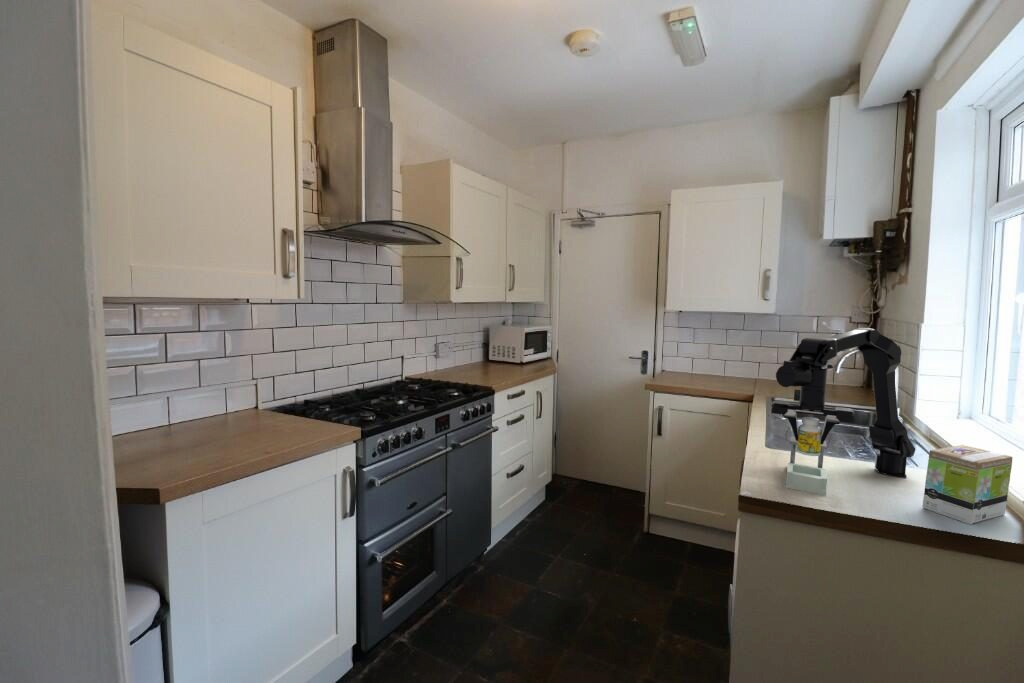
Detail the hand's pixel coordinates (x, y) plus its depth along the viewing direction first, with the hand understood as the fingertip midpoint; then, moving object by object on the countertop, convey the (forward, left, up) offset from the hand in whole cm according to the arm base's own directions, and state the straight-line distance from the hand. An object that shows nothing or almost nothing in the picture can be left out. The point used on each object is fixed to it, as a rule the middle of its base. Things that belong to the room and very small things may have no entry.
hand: (809, 442), depth 129 cm
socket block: (0, -4, -12) cm, 13 cm away
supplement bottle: (0, 0, -3) cm, 3 cm away
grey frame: (0, -11, -12) cm, 16 cm away
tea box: (-32, -2, -12) cm, 35 cm away
